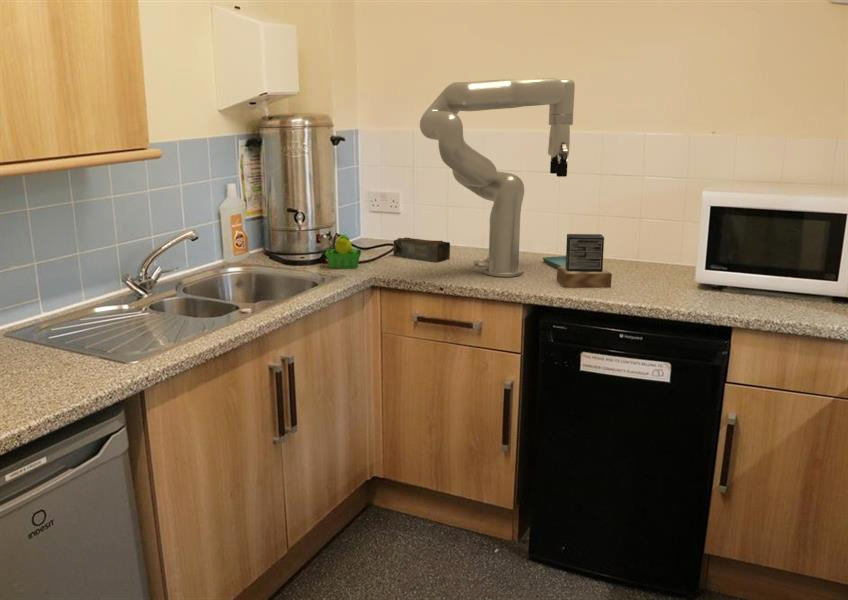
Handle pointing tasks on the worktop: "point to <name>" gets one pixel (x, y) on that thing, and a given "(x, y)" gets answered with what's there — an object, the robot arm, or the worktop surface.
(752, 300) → the worktop surface
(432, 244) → the dark rectangular box
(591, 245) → the small box
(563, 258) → the shallow long dish
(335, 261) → the fruit basket
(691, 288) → the worktop surface
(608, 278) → the brown rectangular tray
